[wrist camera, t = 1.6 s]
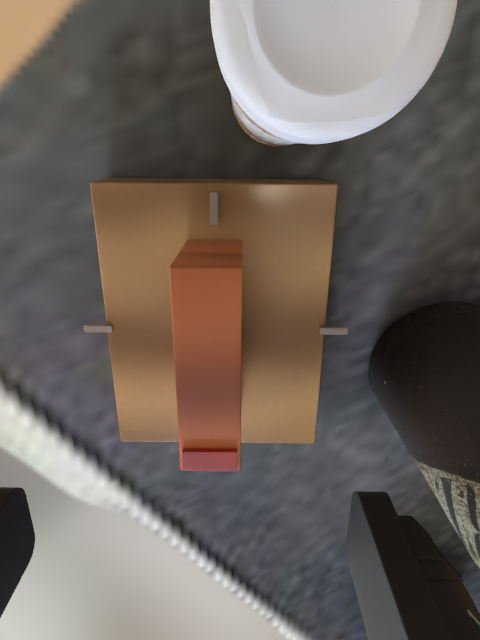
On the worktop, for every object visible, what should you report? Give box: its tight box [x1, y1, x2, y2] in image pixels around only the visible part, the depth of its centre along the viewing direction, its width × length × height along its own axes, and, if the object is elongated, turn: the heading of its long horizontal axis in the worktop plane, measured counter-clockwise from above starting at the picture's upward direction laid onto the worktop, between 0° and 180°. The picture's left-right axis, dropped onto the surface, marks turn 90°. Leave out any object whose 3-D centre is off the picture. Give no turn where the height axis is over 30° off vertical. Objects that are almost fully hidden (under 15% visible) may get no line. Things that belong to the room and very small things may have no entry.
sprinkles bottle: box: [210, 0, 457, 147], centre depth 14 cm, size 5×5×14 cm
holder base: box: [84, 178, 348, 443], centre depth 22 cm, size 14×13×3 cm
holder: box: [169, 240, 243, 471], centre depth 19 cm, size 9×3×5 cm, turn 0°
